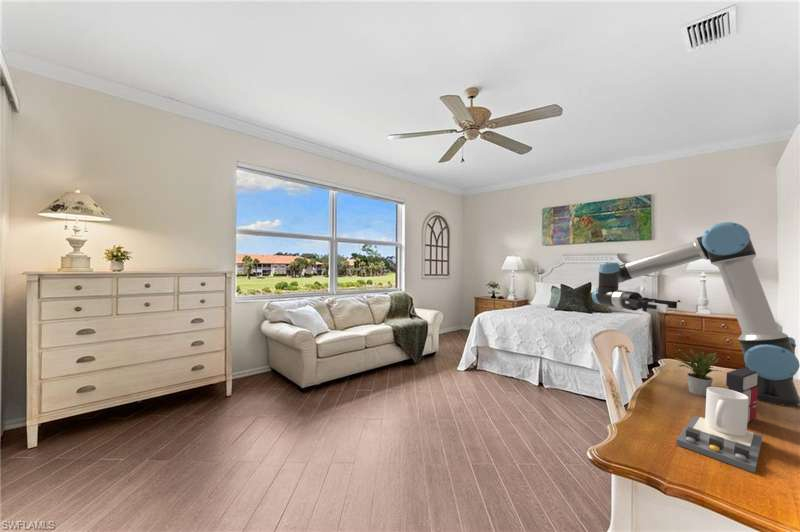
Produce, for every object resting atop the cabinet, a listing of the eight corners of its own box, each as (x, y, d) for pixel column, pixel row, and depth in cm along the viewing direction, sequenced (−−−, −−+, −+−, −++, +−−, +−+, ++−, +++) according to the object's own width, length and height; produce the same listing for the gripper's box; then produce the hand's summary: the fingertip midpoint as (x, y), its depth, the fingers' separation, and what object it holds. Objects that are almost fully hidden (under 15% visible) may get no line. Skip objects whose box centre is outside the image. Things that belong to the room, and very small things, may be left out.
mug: (738, 444, 83) (740, 405, 83) (696, 429, 90) (698, 393, 90) (750, 432, 90) (752, 395, 89) (709, 419, 96) (711, 384, 96)
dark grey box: (743, 427, 95) (746, 377, 95) (723, 420, 99) (726, 372, 99) (757, 419, 100) (760, 372, 100) (738, 413, 104) (741, 367, 104)
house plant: (690, 383, 130) (692, 342, 130) (734, 397, 117) (737, 352, 116) (665, 386, 125) (667, 344, 125) (709, 402, 112) (711, 355, 112)
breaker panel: (693, 420, 99) (694, 408, 99) (761, 441, 88) (762, 428, 88) (676, 444, 85) (677, 431, 85) (755, 473, 74) (755, 458, 74)
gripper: (650, 308, 138) (708, 318, 117) (602, 309, 132) (653, 319, 112) (651, 291, 138) (709, 297, 117) (603, 291, 132) (654, 298, 111)
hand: (682, 308), depth 114 cm, fingers open, 13 cm apart
